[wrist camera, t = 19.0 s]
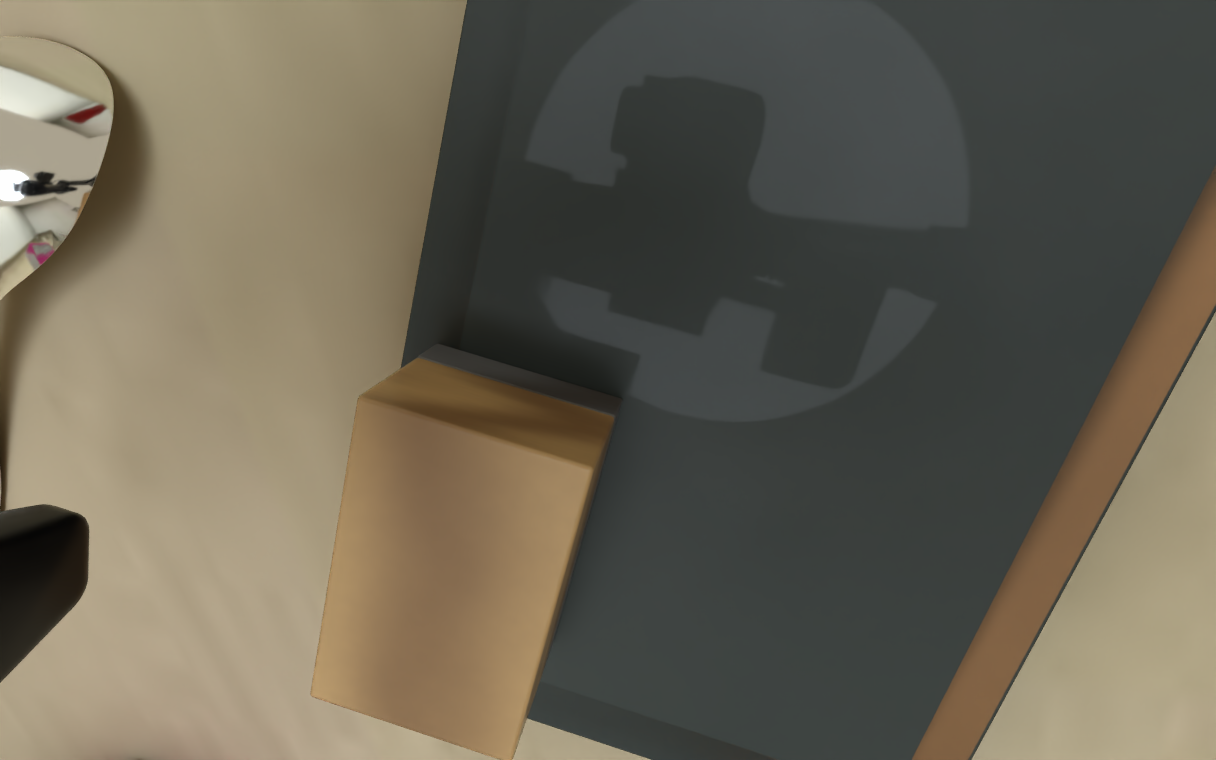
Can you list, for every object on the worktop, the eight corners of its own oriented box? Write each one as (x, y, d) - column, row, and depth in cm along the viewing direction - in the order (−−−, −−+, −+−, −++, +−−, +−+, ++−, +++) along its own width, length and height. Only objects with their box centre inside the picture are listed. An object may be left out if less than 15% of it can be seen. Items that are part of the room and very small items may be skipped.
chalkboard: (1456, -208, 13) (1516, -238, 12) (913, 818, 20) (922, 850, 19) (561, -416, 14) (548, -459, 13) (364, 636, 21) (347, 659, 20)
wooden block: (623, 397, 17) (594, 468, 13) (552, 644, 19) (510, 765, 15) (437, 342, 17) (356, 396, 13) (389, 591, 19) (308, 697, 16)
